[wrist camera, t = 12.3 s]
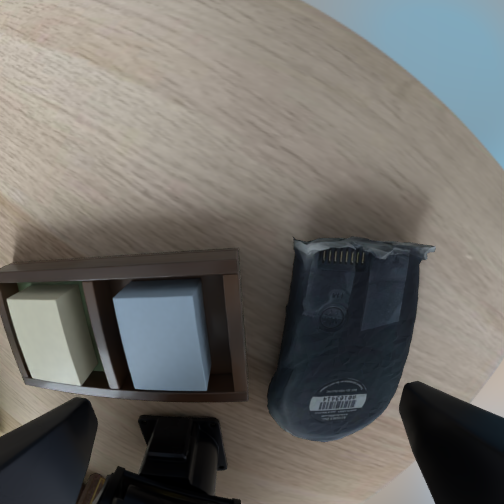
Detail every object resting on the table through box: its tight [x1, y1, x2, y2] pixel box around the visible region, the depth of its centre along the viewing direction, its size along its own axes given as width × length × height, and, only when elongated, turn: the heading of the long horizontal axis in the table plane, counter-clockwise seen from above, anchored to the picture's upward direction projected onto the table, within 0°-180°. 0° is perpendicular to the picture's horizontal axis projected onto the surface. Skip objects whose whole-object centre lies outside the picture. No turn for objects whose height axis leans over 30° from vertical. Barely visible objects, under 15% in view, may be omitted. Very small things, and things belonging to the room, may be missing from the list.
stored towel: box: [113, 278, 211, 391], centre depth 18 cm, size 6×4×3 cm
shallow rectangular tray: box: [0, 248, 248, 402], centre depth 18 cm, size 9×17×3 cm, turn 93°
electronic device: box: [267, 236, 436, 442], centre depth 19 cm, size 9×6×15 cm
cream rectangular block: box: [7, 284, 98, 386], centre depth 17 cm, size 6×4×3 cm
